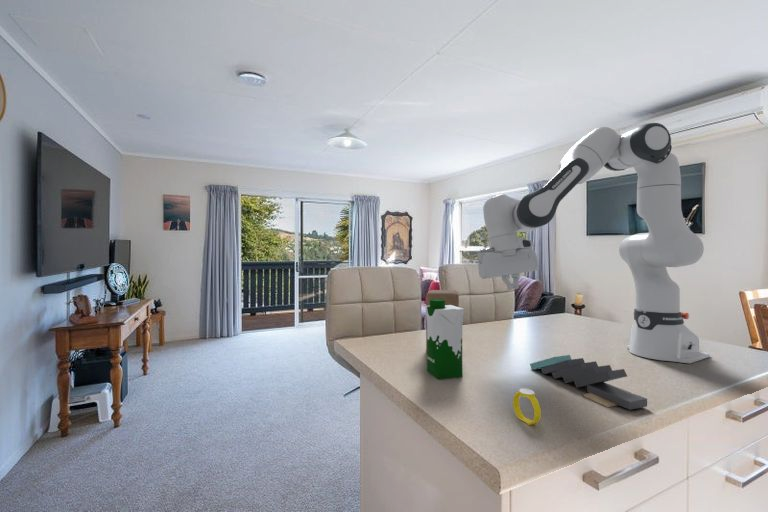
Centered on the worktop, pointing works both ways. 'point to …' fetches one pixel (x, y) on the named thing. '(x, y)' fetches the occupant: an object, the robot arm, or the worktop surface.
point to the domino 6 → (617, 395)
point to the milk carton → (444, 339)
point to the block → (448, 295)
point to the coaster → (600, 400)
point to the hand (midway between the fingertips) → (513, 289)
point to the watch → (536, 406)
